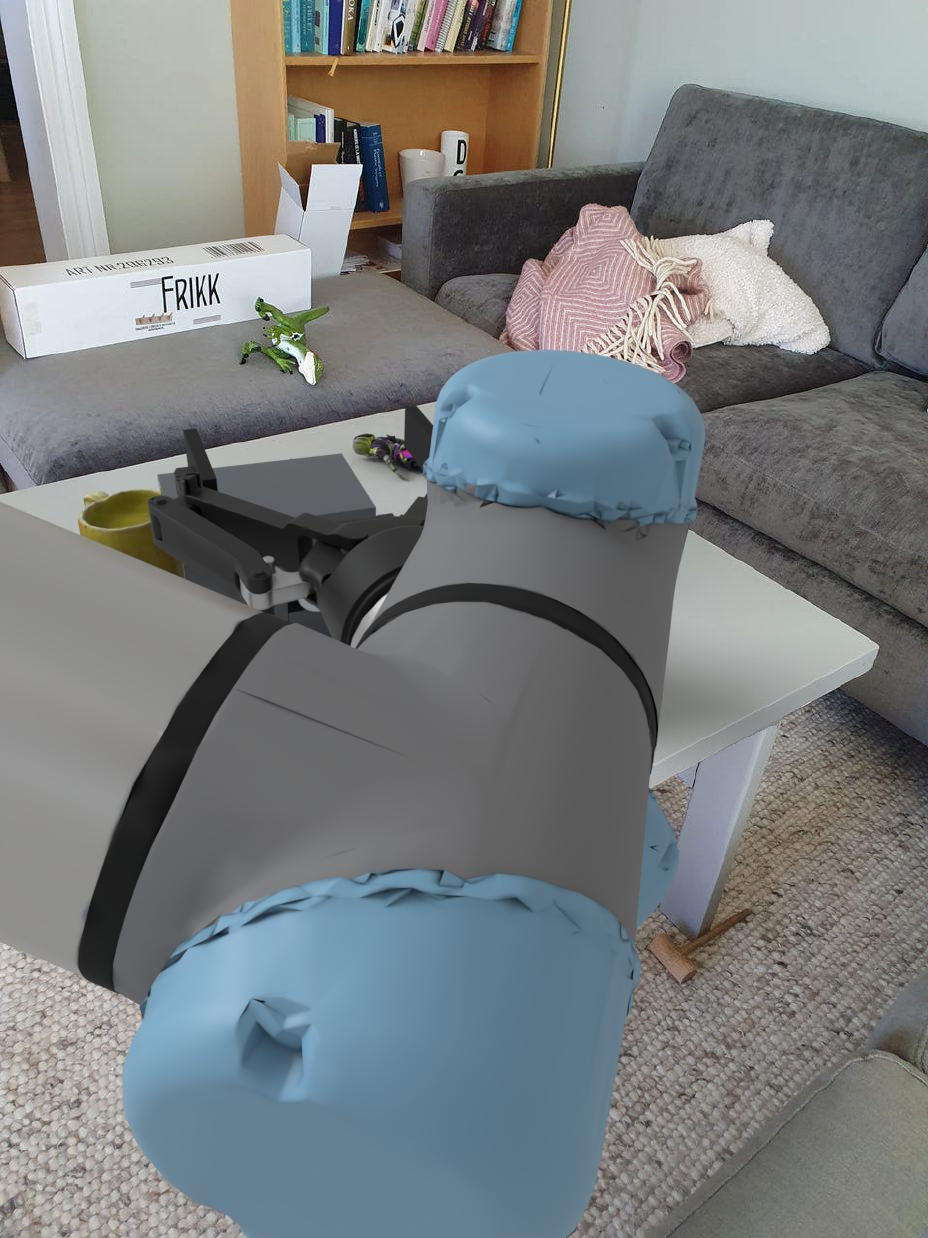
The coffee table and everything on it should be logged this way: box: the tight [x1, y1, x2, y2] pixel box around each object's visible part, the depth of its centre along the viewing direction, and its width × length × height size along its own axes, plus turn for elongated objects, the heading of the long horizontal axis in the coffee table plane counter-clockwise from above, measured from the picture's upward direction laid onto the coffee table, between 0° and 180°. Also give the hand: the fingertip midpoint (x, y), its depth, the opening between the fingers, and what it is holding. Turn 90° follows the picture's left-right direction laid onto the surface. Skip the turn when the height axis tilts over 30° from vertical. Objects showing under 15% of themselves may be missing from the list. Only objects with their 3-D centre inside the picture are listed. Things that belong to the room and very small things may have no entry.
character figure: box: [352, 433, 421, 481], centre depth 117 cm, size 9×4×16 cm
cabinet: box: [156, 452, 377, 638], centre depth 84 cm, size 17×11×15 cm, turn 112°
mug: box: [77, 488, 177, 576], centre depth 93 cm, size 12×10×10 cm
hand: (305, 437), depth 56 cm, fingers open, 13 cm apart
